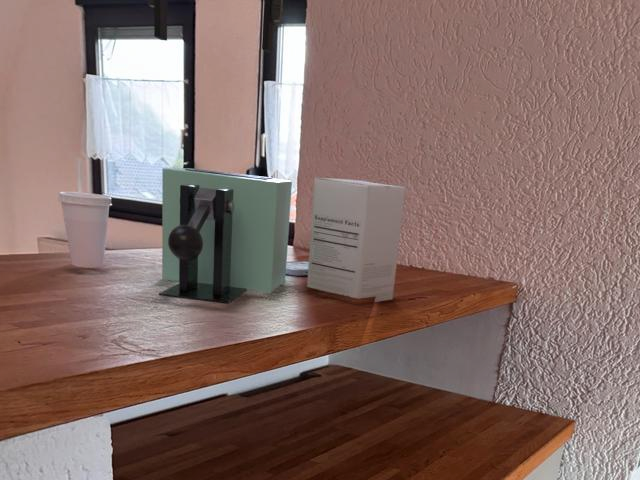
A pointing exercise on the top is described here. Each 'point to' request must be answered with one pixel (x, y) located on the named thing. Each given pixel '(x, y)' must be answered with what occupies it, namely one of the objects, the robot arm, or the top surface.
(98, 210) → the smoothie
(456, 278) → the top surface
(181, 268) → the lever bracket
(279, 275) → the grey-green box
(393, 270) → the rectangular carton
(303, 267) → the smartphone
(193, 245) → the lever
